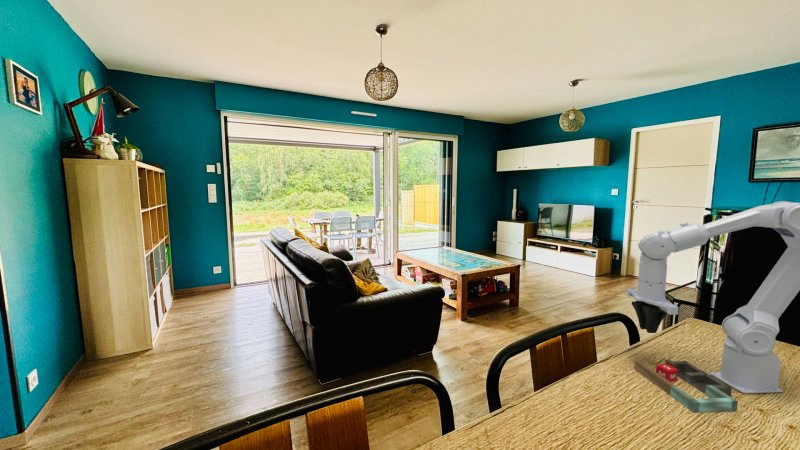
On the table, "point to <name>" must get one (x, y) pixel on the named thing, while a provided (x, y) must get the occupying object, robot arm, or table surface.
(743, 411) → the table surface
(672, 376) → the red letter block
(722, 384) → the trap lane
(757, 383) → the robot arm
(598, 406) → the table surface
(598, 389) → the table surface
